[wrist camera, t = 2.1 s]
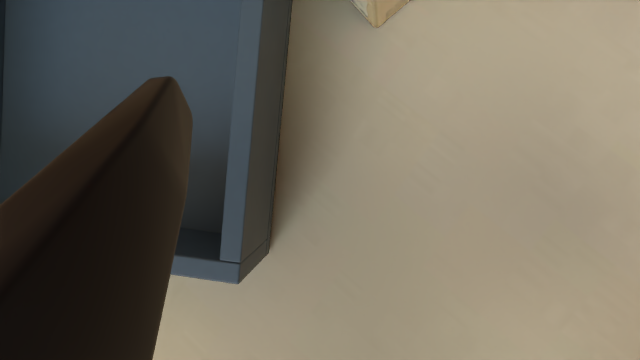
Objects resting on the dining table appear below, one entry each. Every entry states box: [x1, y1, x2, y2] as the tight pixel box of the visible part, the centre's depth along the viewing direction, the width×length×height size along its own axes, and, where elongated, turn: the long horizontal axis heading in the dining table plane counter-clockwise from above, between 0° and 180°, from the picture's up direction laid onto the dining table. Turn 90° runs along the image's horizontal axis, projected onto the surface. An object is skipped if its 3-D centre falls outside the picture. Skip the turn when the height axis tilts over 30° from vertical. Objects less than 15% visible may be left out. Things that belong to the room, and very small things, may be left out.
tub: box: [0, 0, 292, 284], centre depth 20 cm, size 14×14×5 cm
